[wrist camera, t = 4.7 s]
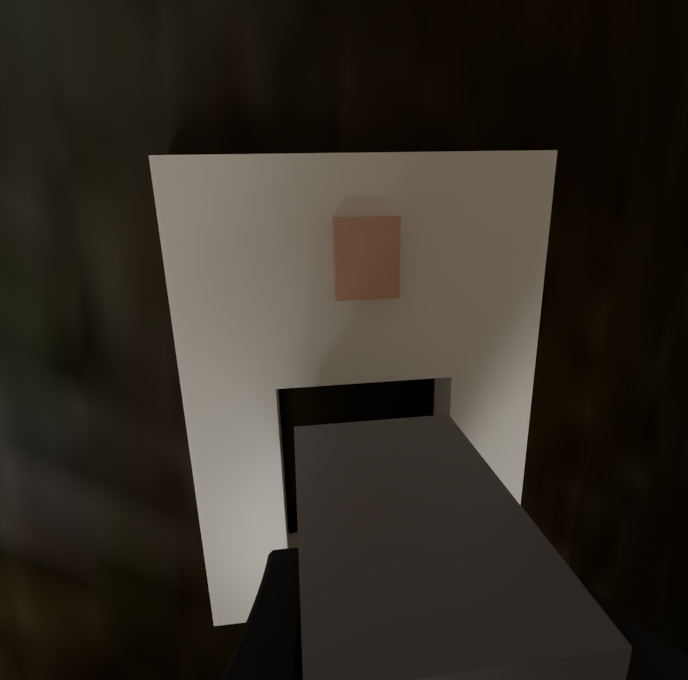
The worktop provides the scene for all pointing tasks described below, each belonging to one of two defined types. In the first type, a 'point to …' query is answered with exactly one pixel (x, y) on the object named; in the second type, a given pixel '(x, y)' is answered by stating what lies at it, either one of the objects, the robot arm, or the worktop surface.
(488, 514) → the block
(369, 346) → the white flat block
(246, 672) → the robot arm
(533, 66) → the worktop surface
